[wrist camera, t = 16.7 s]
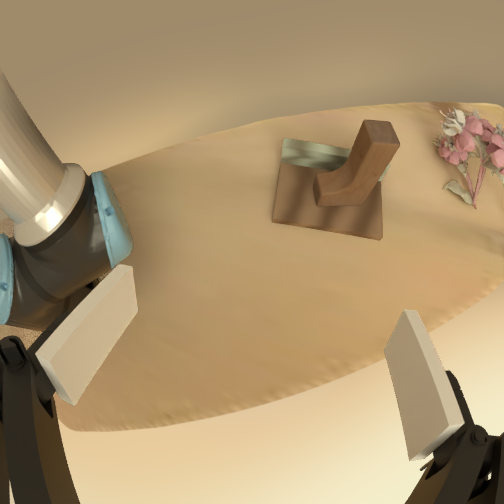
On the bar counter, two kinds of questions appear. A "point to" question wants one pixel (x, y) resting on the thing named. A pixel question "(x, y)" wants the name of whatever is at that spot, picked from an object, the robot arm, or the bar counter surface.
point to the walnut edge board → (303, 200)
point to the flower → (471, 148)
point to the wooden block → (358, 167)
